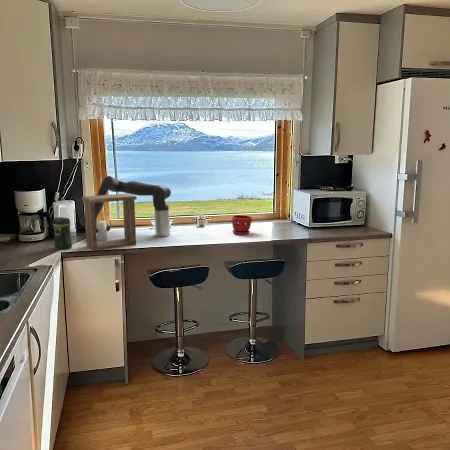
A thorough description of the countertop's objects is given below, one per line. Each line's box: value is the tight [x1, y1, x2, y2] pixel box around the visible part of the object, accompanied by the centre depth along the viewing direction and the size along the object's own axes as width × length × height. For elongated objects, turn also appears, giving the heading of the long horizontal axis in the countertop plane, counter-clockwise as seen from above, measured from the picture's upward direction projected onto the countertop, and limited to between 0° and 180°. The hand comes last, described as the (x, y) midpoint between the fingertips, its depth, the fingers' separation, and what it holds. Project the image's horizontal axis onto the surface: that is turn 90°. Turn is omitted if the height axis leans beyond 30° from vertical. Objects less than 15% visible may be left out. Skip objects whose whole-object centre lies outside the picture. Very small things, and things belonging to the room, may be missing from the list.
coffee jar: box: [52, 216, 73, 250], centre depth 255 cm, size 10×8×19 cm
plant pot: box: [231, 214, 252, 236], centre depth 295 cm, size 13×13×12 cm
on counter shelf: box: [81, 193, 138, 252], centre depth 260 cm, size 16×28×30 cm, turn 124°
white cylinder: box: [96, 220, 108, 242], centre depth 277 cm, size 6×6×12 cm
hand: (102, 230), depth 275 cm, fingers open, 6 cm apart
